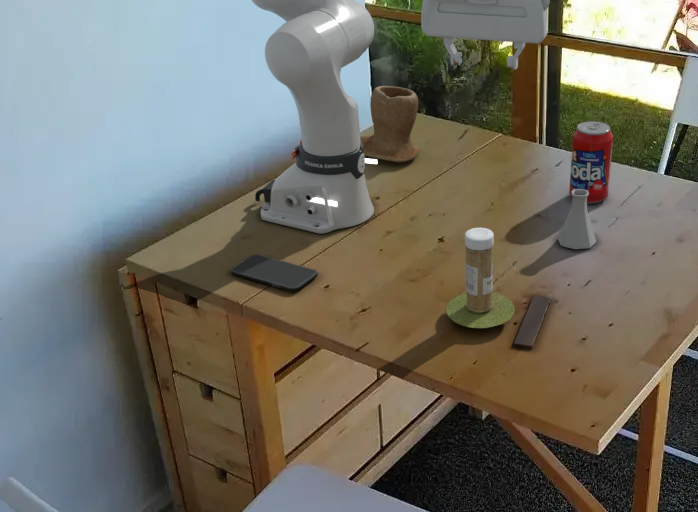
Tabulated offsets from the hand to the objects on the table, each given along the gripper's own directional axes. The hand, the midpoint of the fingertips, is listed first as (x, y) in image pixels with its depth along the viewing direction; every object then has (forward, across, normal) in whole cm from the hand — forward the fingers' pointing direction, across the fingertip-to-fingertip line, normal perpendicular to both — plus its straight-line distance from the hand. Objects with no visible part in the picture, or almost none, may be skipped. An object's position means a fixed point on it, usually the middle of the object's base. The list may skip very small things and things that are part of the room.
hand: (484, 66), depth 153 cm
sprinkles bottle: (+32, -5, +22) cm, 39 cm away
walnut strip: (+34, -14, +21) cm, 43 cm away
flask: (+34, -16, -8) cm, 39 cm away
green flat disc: (+34, -5, +22) cm, 41 cm away
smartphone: (+34, +34, +18) cm, 51 cm away
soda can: (+34, -15, -27) cm, 46 cm away
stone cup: (+34, +32, -38) cm, 60 cm away
